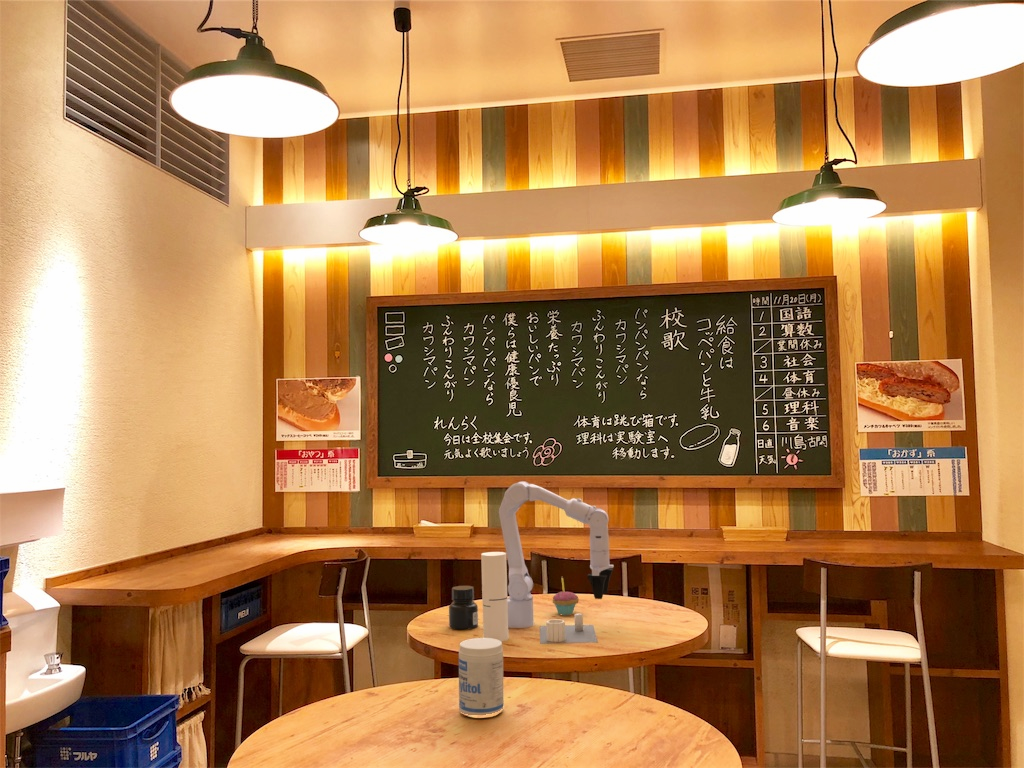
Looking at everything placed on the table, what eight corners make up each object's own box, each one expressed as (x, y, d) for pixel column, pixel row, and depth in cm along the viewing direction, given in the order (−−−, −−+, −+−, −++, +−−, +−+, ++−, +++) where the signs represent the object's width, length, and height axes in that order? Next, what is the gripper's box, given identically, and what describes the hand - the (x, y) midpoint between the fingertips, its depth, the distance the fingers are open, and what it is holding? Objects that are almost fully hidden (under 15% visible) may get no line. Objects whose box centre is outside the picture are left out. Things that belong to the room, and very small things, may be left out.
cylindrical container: (505, 646, 225) (503, 555, 227) (480, 645, 227) (478, 555, 228) (510, 639, 232) (508, 551, 234) (486, 638, 234) (484, 551, 235)
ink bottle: (482, 628, 246) (481, 589, 247) (454, 632, 243) (453, 591, 243) (472, 622, 255) (471, 583, 256) (445, 625, 252) (444, 586, 252)
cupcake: (548, 612, 265) (547, 575, 266) (571, 609, 268) (569, 573, 269) (560, 617, 257) (559, 579, 258) (583, 614, 261) (582, 577, 261)
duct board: (540, 647, 223) (539, 626, 223) (540, 629, 243) (539, 610, 243) (598, 645, 223) (597, 625, 223) (593, 628, 243) (592, 609, 243)
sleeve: (546, 642, 225) (546, 623, 225) (546, 637, 230) (546, 619, 230) (565, 641, 224) (564, 623, 225) (564, 636, 230) (564, 619, 230)
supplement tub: (451, 717, 170) (449, 646, 171) (472, 703, 179) (470, 635, 180) (492, 723, 166) (490, 650, 167) (511, 708, 175) (509, 639, 176)
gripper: (608, 554, 234) (609, 601, 233) (617, 546, 248) (618, 591, 247) (584, 553, 236) (585, 600, 235) (594, 546, 250) (595, 590, 249)
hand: (601, 596), depth 241 cm, fingers open, 7 cm apart
